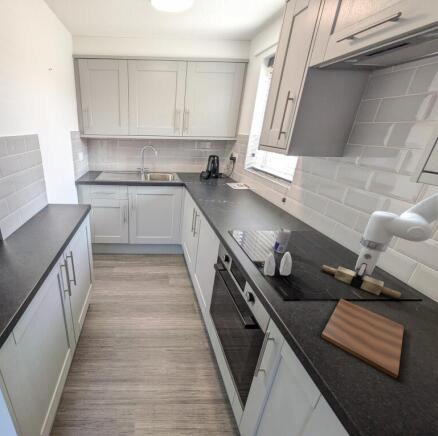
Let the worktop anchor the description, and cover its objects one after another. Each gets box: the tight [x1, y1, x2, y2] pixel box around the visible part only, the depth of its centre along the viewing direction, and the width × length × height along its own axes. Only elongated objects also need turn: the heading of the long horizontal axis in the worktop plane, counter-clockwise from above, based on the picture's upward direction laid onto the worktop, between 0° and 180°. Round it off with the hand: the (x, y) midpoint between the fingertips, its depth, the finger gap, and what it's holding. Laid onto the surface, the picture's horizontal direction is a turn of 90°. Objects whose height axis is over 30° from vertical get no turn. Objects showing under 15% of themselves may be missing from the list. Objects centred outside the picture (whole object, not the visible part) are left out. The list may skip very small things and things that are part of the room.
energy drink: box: [273, 227, 292, 254], centre depth 115 cm, size 5×5×12 cm
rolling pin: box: [320, 264, 402, 300], centre depth 93 cm, size 24×4×4 cm, turn 41°
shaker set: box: [263, 251, 293, 277], centre depth 97 cm, size 12×4×11 cm, turn 89°
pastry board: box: [320, 298, 405, 379], centre depth 70 cm, size 24×16×2 cm, turn 131°
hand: (356, 283), depth 93 cm, fingers closed on rolling pin, 4 cm apart
